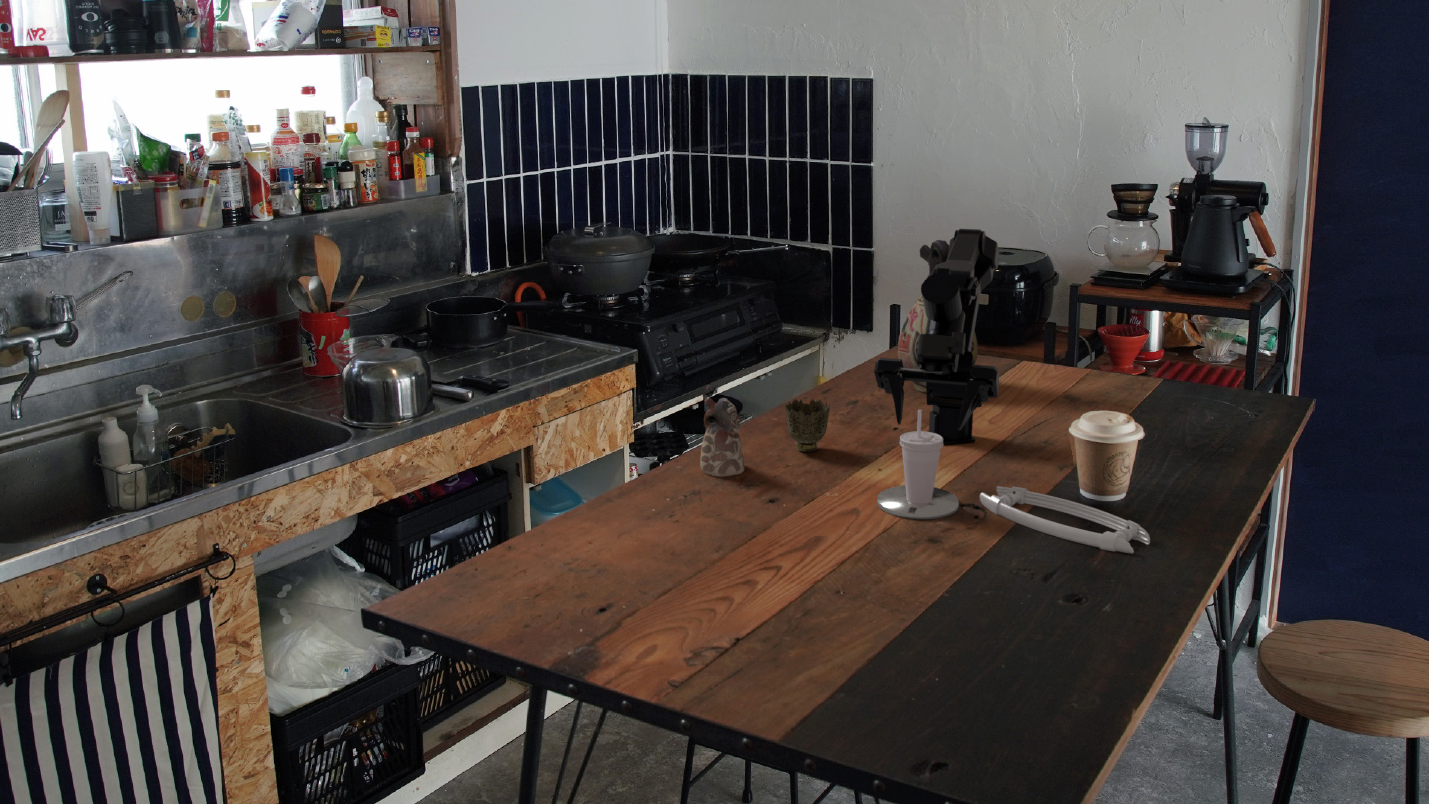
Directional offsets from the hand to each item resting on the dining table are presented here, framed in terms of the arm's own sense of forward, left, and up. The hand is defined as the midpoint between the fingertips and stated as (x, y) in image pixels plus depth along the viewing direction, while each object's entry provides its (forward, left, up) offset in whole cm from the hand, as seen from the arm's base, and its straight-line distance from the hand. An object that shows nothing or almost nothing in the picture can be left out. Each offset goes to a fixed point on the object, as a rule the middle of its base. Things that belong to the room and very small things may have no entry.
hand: (928, 426), depth 189 cm
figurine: (+29, -16, -10) cm, 34 cm away
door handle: (-13, +18, -11) cm, 25 cm away
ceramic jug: (-22, -51, -10) cm, 56 cm away
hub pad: (+4, +6, -10) cm, 12 cm away
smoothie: (+4, +6, -9) cm, 12 cm away
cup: (+13, -22, -10) cm, 27 cm away
